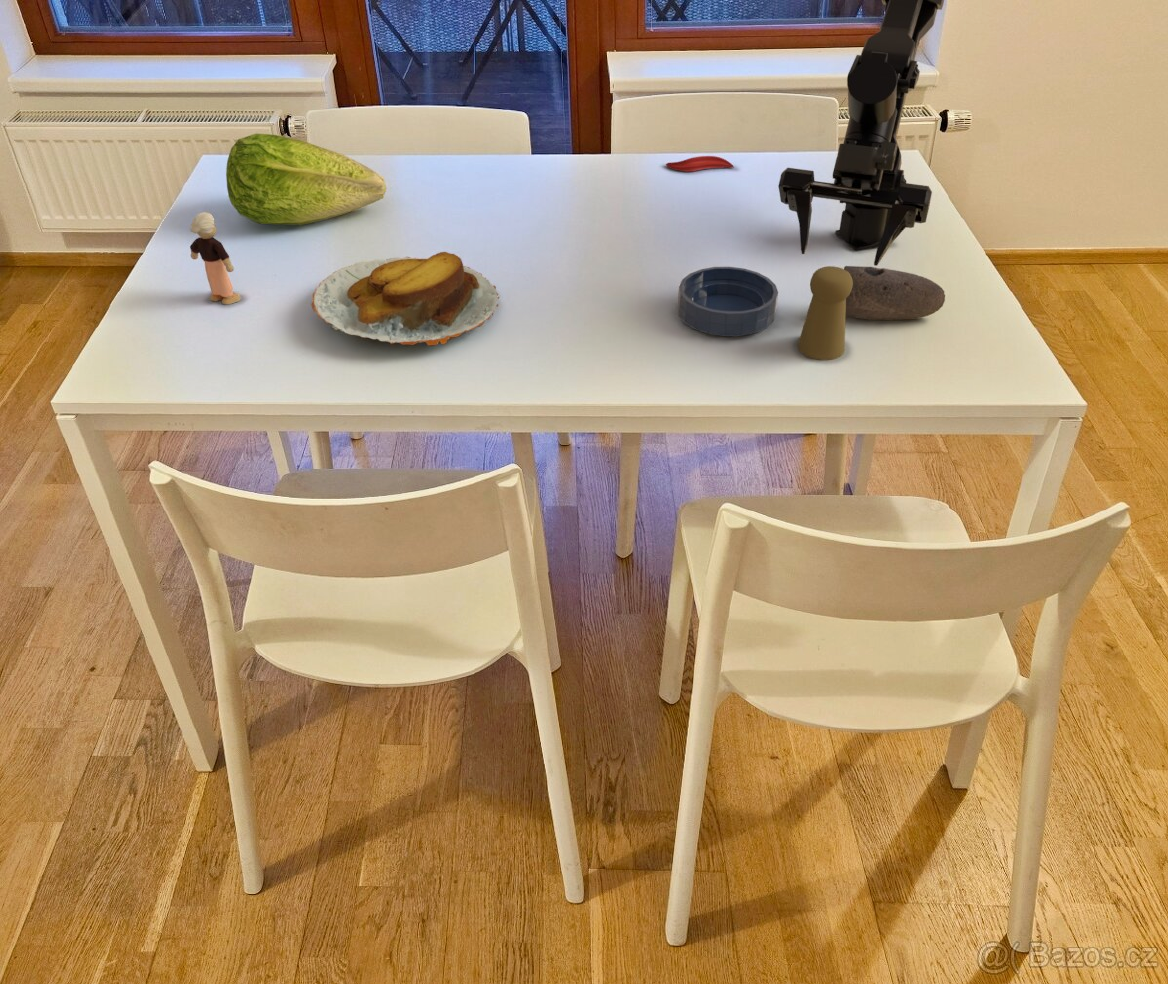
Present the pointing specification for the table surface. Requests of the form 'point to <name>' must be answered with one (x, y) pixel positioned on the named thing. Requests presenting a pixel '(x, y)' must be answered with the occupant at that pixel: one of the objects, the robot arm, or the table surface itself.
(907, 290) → the perforated stone tool
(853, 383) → the table surface
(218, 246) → the grandmother figurine
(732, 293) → the bowl
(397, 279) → the food on plate
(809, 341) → the yellow pawn piece
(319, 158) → the lettuce
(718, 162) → the cayenne pepper
